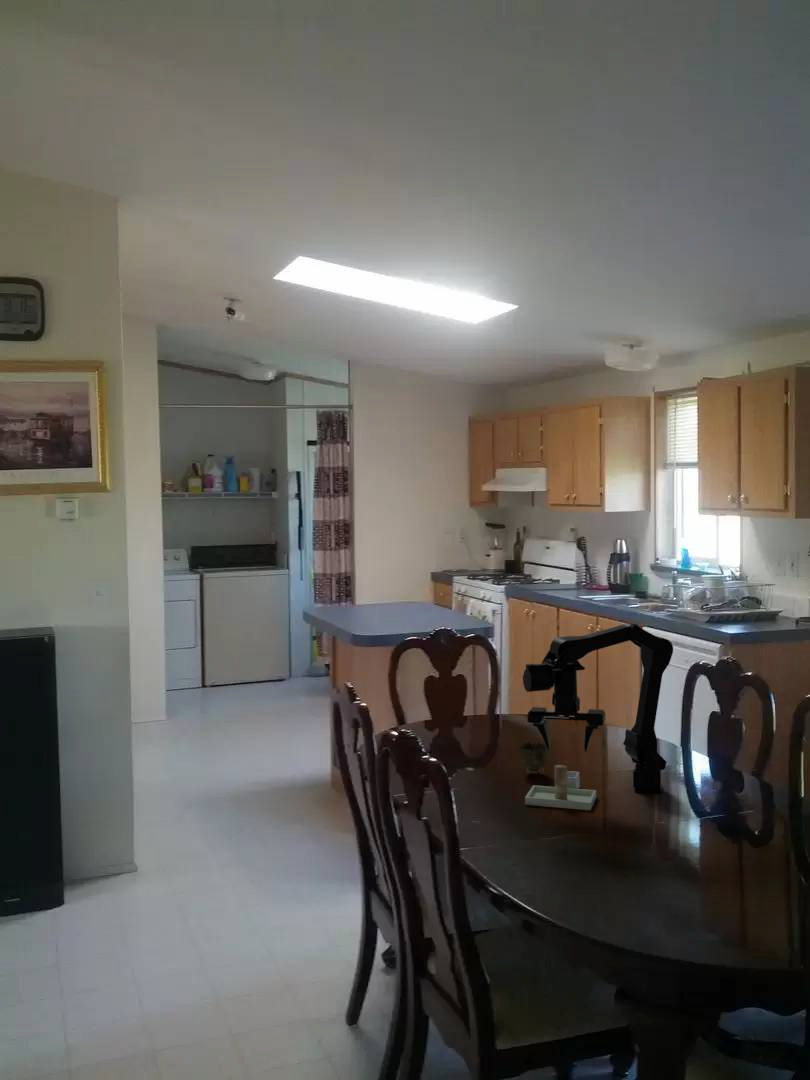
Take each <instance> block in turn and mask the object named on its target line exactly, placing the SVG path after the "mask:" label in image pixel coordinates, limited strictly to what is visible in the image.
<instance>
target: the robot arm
mask: <svg viewBox="0 0 810 1080" xmlns="http://www.w3.org/2000/svg"><path fill="white" fill-rule="evenodd" d="M626 642H631V643H633V644H634V645H635V646H637V647H638V648H640V659H641V660H640V662H641V666H642V668H643V673H642V679H641V685H640V690H639V691H640V692H639V696H638V697H639V698H638V706H637V711H636V717H635V723H634V725H633V727H632V728H631V729H629V728H628V729H627V728H626V729H625V732H624V733H625V735H624V736H625V737H624V741H623V743H622V745H624V750H625V752H626V754H627V755H628V756H629V757H630V758H631V762H632V763H634V764H635V767H634V769H633V771H632V779H633V780H632V783H633V784H632V785H633V786H632V787H633V788H634V792H635V793H642V794H643V793H645V794H658V795H661V794H662V791H663V784H662V783H663V781H662V770H665V769H666V765H667V763H668V762H667V760H665V759H664V758H663V756H661V755H660V754H659V752H658V739H657V735H656V730H655V727H656V726H655V724H656V720H657V719H656V718H657V711H658V706H659V699H660V692H661V686H662V679H663V674H664V672H665V671H666V669H667V668H668V666H669V665H670V663H671V659H672V656H673V654H674V646H673V644H672V642H671V641H670V640H669V639H667V638H665V637H661V636H657V635H654V634H653V633H650V632H649V631H647V630H645V629H644V628H642V627H641V626H640V625H638V624H636V623H632V622H625V623H624V624H621V625H617V626H613V627H610V628H607V629H603V630H599V631H596V632H593V633H589V634H585V635H578V636H577V635H574V636H573V635H569V636H560V637H555V638H554V639H553V640H552V641H551V643H550V646H549V650H548V651H547V653H546V654H545V656H544V657H543V659H542V661H541V663H526V664H525V669H524V671H523V675H522V684H523V688H524V690H525V692H527V693H532V692H542V691H543V692H544V691H550V690H551V689H552V688H553V692H552V695H551V696H552V697H551V704H552V706H553V707H554V711H548V709H547V708H546V707H539V706H538V707H537V706H536V707H535V706H532V708H531V709H529V711H528V713H527V718H526V719H527V723H528V724H531V723H532V726H533V727H536V728H537V730H538V731H539V733H540V735H541V737H542V739H543V741H544V745H546V746H547V751H549V750H550V749H551V739H550V731H549V720H563V721H583V722H585V721H586V725H585V728H584V729H585V731H584V733H585V734H584V746H583V747H584V752H587V751H588V747H589V745H590V741H591V738H592V734H593V732H594V730H597V729H599V727H600V726H604V724H605V722H606V711H605V710H604V709H594V708H593V709H592V708H588V711H587V712H579V711H581V710H580V709H581V707H580V706H581V705H580V704H581V698H580V697H579V696H578V674H577V673H578V672H577V671H584V670H586V668H585V666H583V665H582V664H581V663H580V662H579V660H580V659H583V658H584V657H585V656H586V655H588V654H590V653H592V652H594V651H597V650H601V649H602V650H603V649H605V648H608V647H612V646H614V645H619V644H623V643H626Z"/></svg>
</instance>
